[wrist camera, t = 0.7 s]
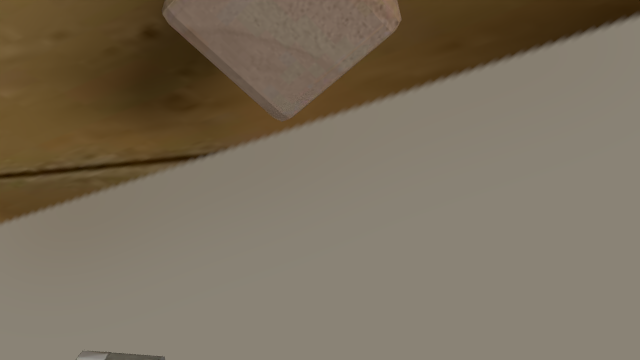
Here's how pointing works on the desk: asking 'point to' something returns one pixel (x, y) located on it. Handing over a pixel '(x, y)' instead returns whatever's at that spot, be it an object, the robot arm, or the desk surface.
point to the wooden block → (283, 43)
